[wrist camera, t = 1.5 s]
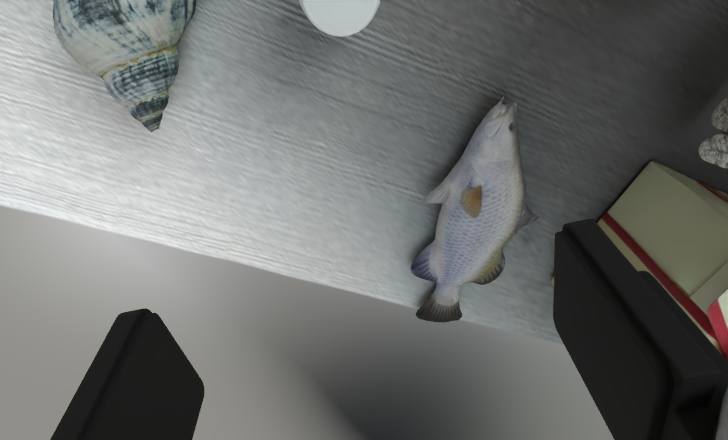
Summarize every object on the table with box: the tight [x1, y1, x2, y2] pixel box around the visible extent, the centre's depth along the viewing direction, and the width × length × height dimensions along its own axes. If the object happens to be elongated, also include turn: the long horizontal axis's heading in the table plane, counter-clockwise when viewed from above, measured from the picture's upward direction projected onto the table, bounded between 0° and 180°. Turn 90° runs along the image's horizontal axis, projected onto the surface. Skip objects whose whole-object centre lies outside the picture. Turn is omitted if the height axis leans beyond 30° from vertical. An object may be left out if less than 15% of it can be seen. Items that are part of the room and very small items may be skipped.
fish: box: [410, 97, 538, 322], centre depth 40 cm, size 23×4×10 cm
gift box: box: [550, 161, 728, 361], centre depth 36 cm, size 17×18×17 cm
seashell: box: [53, 0, 196, 132], centre depth 28 cm, size 6×8×12 cm
